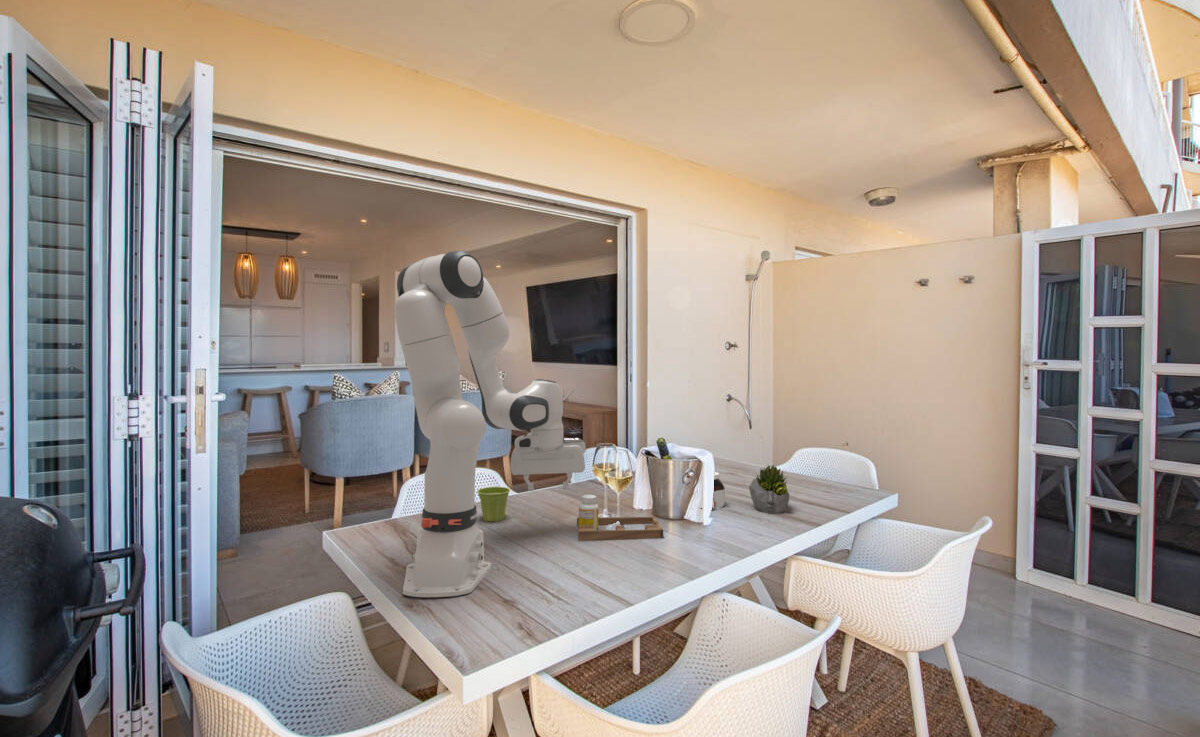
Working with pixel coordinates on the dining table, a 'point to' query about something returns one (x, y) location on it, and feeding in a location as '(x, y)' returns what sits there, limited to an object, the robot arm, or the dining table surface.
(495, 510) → the plant pot
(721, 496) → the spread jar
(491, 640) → the dining table surface
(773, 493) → the potted plant
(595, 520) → the supplement bottle
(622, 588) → the dining table surface
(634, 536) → the frame
